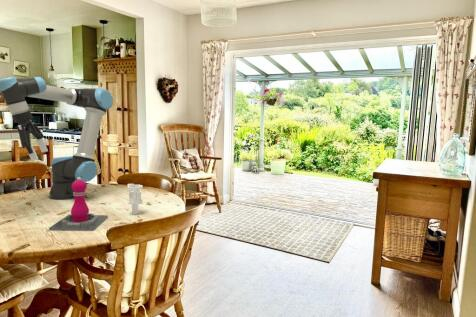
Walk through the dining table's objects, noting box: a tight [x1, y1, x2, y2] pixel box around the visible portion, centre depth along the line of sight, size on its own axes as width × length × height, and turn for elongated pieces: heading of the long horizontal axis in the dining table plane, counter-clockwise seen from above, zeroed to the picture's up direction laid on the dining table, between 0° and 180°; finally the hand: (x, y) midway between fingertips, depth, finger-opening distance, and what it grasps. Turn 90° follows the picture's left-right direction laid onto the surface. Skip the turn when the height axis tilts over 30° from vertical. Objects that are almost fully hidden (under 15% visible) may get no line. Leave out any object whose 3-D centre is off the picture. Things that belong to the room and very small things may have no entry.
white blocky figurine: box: [127, 183, 143, 215], centre depth 161 cm, size 7×7×15 cm
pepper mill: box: [70, 177, 90, 222], centre depth 144 cm, size 7×7×20 cm
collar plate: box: [48, 212, 109, 232], centre depth 145 cm, size 18×18×2 cm
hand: (40, 155), depth 154 cm, fingers open, 13 cm apart
